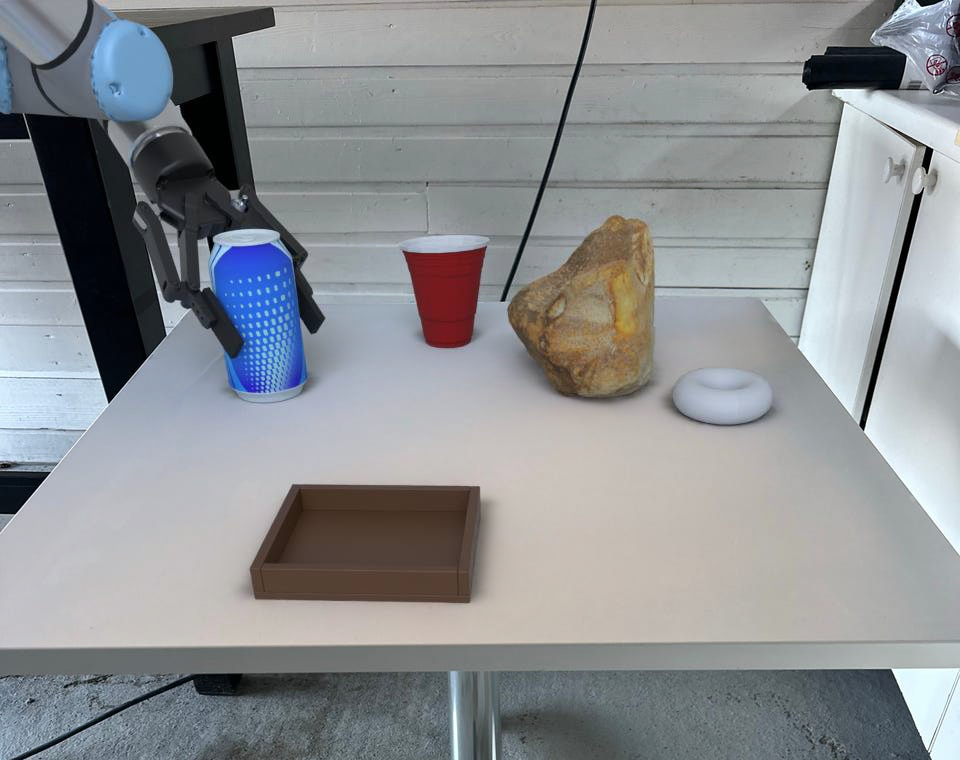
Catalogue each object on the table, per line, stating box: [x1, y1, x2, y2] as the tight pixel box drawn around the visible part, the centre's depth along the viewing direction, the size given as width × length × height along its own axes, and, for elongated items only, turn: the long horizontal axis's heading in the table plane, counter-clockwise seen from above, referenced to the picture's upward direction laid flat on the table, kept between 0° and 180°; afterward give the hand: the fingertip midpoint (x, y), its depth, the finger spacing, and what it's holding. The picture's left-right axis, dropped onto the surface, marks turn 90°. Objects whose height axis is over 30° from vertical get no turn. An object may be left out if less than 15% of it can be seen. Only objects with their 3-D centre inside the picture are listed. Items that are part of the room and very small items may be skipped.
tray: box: [249, 483, 482, 604], centre depth 71 cm, size 16×14×3 cm
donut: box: [671, 366, 774, 426], centre depth 93 cm, size 10×3×10 cm
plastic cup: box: [398, 234, 491, 349], centre depth 111 cm, size 11×11×12 cm
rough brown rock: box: [506, 214, 656, 399], centre depth 101 cm, size 23×17×15 cm
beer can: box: [207, 229, 308, 404], centre depth 97 cm, size 8×8×16 cm
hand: (279, 338), depth 96 cm, fingers open, 10 cm apart
